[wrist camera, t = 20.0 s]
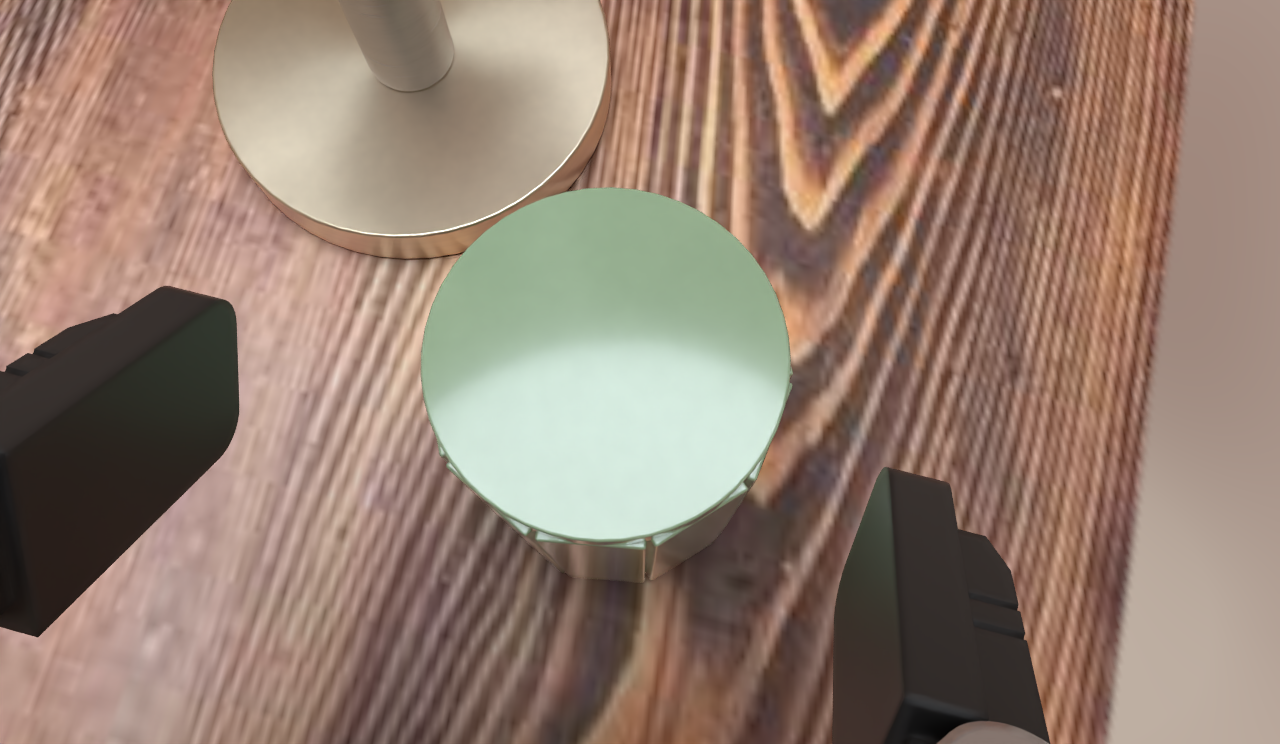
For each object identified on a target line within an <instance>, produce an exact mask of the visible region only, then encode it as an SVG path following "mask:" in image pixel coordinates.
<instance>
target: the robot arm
mask: <svg viewBox="0 0 1280 744" xmlns="http://www.w3.org/2000/svg"><path fill="white" fill-rule="evenodd" d="M238 417H239V384H238V353H237V323H236V315H235V311H234V309H233V307H232V305H231V304H230V303H229V302H228V301H226V300H223V299H219V298H215V297H211V296H207V295H203V294H199V293H195V292H191V291H187V290H183V289H179V288H175V287H171V286H163V287H160V288H158V289H156V290H155V291H153V292H152V293H150V294H149V295H147V296H146V297H144V298H142V299H141V300H139V301H138V302H136V303H135V304H133V305H132V306H130V307H129V308H127V309H126V310H124V311H122V312H121V313H119V314H114V313H113V314H110V315H107V316H104V317H101V318H98V319H94V320H91V321H88V322H85V323H82V324H79V325H75V326H72V327H69V328H67V329H65V330H64V331H62V332H61V333H59V334H57V335H56V336H54V337H53V338H51V339H49V340H48V341H46V342H45V343H43V344H41V345H40V346H38V347H37V348H35V349H34V353H33V354H29V353H27V354H25V355H24V356H22V357H21V358H19V359H17V360H16V361H14V362H13V363H11V364H9V365H8V366H6V371H5V372H2V371H0V627H3V628H6V629H10V630H14V631H17V632H21V633H24V634H28V635H31V636H35V637H39V636H40V635H41V634H42V633H43V632H44V631H45V630H46V629H47V628H48V627H49V626H50V625H51V624H52V623H53V622H54V621H55V620H56V619H57V618H58V617H59V616H60V615H61V614H62V613H63V612H64V611H65V610H66V609H67V608H68V607H69V606H70V605H71V604H72V603H73V602H74V601H75V600H76V599H77V598H78V597H79V596H80V595H81V594H82V593H83V592H84V591H85V590H86V589H87V588H88V587H89V586H91V585H92V584H93V583H94V582H95V581H96V580H97V579H98V578H99V577H100V576H101V575H102V574H103V573H104V572H105V571H106V570H107V569H108V568H109V567H110V566H111V565H112V564H113V563H114V562H115V561H116V560H117V559H118V558H119V557H120V556H121V555H122V554H123V553H124V552H125V551H126V550H127V549H128V548H129V547H130V546H131V545H132V544H133V543H134V542H135V541H136V540H137V539H138V538H139V537H140V536H141V535H142V534H143V533H144V532H145V531H146V530H147V529H148V528H149V527H150V526H151V525H152V524H153V523H154V522H155V521H156V520H157V519H158V518H159V517H161V516H162V515H163V514H164V513H165V512H166V511H167V510H168V509H169V508H170V507H171V506H172V505H173V504H174V503H175V502H176V501H177V500H178V499H179V498H180V497H181V496H182V495H183V494H184V493H185V492H186V491H187V490H188V489H189V488H190V487H191V486H192V485H193V484H194V483H195V482H196V481H197V480H198V479H199V478H200V477H201V476H202V475H203V474H204V473H205V472H206V471H207V470H208V469H209V468H210V467H211V466H212V465H213V464H214V463H215V462H216V461H217V460H218V459H219V458H220V457H221V456H222V455H223V454H224V452H225V451H226V449H227V448H228V446H229V444H230V442H231V440H232V438H233V435H234V433H235V430H236V426H237V422H238ZM1017 608H1018V600H1017V596H1016V591H1015V587H1014V583H1013V578H1012V574H1011V570H1010V569H1009V568H1008V566H1007V565H1006V563H1005V562H1004V561H1003V559H1002V558H1001V557H1000V555H999V554H998V553H997V551H996V550H995V548H994V547H993V546H992V544H991V543H990V542H989V540H988V539H987V537H986V536H982V535H978V534H974V533H971V532H967V531H963V530H959V529H958V528H957V522H956V516H955V510H954V504H953V498H952V492H951V487H950V485H949V483H947V482H944V481H940V480H936V479H932V478H928V477H924V476H920V475H916V474H912V473H908V472H904V471H900V470H896V469H892V468H888V467H884V468H883V469H882V471H881V472H880V474H879V476H878V478H877V480H876V483H875V485H874V488H873V491H872V493H871V496H870V499H869V501H868V504H867V507H866V510H865V512H864V515H863V518H862V521H861V523H860V526H859V529H858V531H857V534H856V537H855V540H854V542H853V545H852V548H851V550H850V553H849V556H848V559H847V561H846V564H845V567H844V570H843V573H842V577H841V580H840V584H839V589H838V594H837V599H836V605H835V613H834V653H833V726H832V744H1050V741H1049V736H1048V732H1047V727H1046V723H1045V719H1044V714H1043V710H1042V705H1041V701H1040V697H1039V692H1038V688H1037V684H1036V679H1035V675H1034V670H1033V666H1032V662H1031V657H1030V653H1029V648H1028V644H1027V641H1026V640H1024V635H1025V631H1024V627H1023V622H1022V618H1021V613H1020V612H1019V611H1017Z"/></svg>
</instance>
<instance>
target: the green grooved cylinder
mask: <svg viewBox="0 0 1280 744" xmlns="http://www.w3.org/2000/svg"><path fill="white" fill-rule="evenodd" d="M792 375H793V371H792V368H791V358H790V346H789V336H788V332H787V327H786V323H785V318H784V314H783V312H782V309H781V306H780V304H779V301H778V298H777V295H776V293H775V291H774V289H773V287H772V285H771V284H770V282H769V280H768V278H767V276H766V274H765V273H764V271H763V270H762V268H761V267H760V266H759V264H758V263H757V261H756V260H755V259H754V257H753V256H752V254H751V253H750V252H749V251H748V250H747V249H746V248H745V247H744V246H743V245H742V244H741V243H740V242H739V240H738V239H737V238H736V237H734V236H733V235H732V234H731V233H730V232H728V231H727V230H726V229H725V228H724V227H722V226H721V225H720V224H719V223H717V222H716V221H714V220H713V219H711V218H709V217H708V216H706V215H705V214H703V213H702V212H700V211H698V210H696V209H694V208H692V207H690V206H688V205H686V204H684V203H681V202H679V201H677V200H674V199H671V198H668V197H665V196H662V195H659V194H655V193H650V192H645V191H640V190H635V189H624V188H612V187H611V188H588V189H581V190H575V191H569V192H564V193H560V194H557V195H553V196H550V197H546V198H543V199H541V200H538V201H536V202H534V203H531V204H529V205H526V206H524V207H522V208H520V209H518V210H517V211H515V212H513V213H511V214H510V215H508V216H506V217H504V218H503V219H501V220H500V221H499V222H497V223H496V224H495V225H493V226H492V227H490V228H489V229H488V230H486V231H485V232H484V233H483V234H482V235H481V236H480V237H479V238H478V239H477V240H476V241H474V242H473V243H472V244H471V245H470V246H469V247H468V248H467V249H466V251H465V252H464V253H463V254H462V256H461V257H460V258H459V259H458V261H457V262H456V263H455V264H454V265H453V267H452V269H451V270H450V272H449V273H448V275H447V277H446V278H445V280H444V281H443V283H442V285H441V287H440V289H439V291H438V293H437V295H436V298H435V300H434V302H433V304H432V306H431V310H430V313H429V316H428V320H427V323H426V326H425V331H424V337H423V343H422V349H421V382H422V391H423V398H424V402H425V406H426V410H427V414H428V418H429V421H430V424H431V426H432V429H433V431H434V433H435V436H436V438H437V444H438V449H439V454H440V456H441V457H442V458H443V459H444V460H445V461H446V462H447V464H446V467H447V468H448V469H449V470H450V471H451V472H452V473H453V474H454V475H455V476H456V477H457V478H458V479H459V480H460V481H461V482H463V483H464V484H465V485H466V486H467V487H468V488H469V489H470V490H471V491H472V492H473V493H474V494H475V495H476V496H477V497H478V498H479V499H480V500H482V501H483V502H484V503H485V504H486V505H487V506H488V507H489V508H490V509H491V510H492V511H493V512H494V513H495V514H496V515H497V516H498V517H499V518H501V519H502V520H503V521H504V522H505V523H506V524H507V525H508V526H509V527H510V528H511V529H512V530H513V531H515V532H516V533H517V534H518V535H519V536H520V537H521V538H523V539H524V540H525V541H526V542H527V543H528V544H529V545H530V546H532V547H533V548H534V549H535V550H536V551H537V552H538V553H539V554H541V555H542V556H543V557H544V558H545V559H546V560H547V561H548V562H550V563H551V564H552V565H553V566H554V567H555V568H556V569H557V570H559V571H560V572H561V573H565V572H566V573H567V574H568V575H569V576H570V577H575V578H587V579H600V580H612V581H624V582H637V583H644V582H645V572H646V574H647V575H648V577H649V579H650V580H651V581H653V580H654V579H656V578H658V577H659V576H661V575H662V574H664V573H666V572H667V571H669V570H670V569H672V568H674V567H675V566H677V565H678V564H680V563H682V562H683V561H685V560H686V559H688V558H690V557H691V556H693V555H694V554H696V553H698V552H699V551H701V550H702V549H704V548H706V547H707V546H709V545H710V544H712V543H713V542H714V541H715V539H716V538H717V536H719V535H720V534H721V532H722V531H723V529H724V528H725V526H726V525H727V523H728V522H729V520H730V519H731V517H732V516H733V514H734V513H735V511H736V510H737V508H738V507H739V505H740V504H741V502H742V501H743V499H744V498H745V496H746V495H747V493H748V492H749V490H750V489H751V487H752V486H753V484H754V483H755V481H756V480H757V477H758V474H759V472H760V469H761V467H762V464H763V462H764V459H765V456H766V454H767V451H768V449H769V446H770V443H771V441H772V439H773V437H774V435H775V433H776V431H777V429H778V426H779V423H780V420H781V418H782V415H783V412H784V409H785V405H786V402H787V399H788V397H789V394H790V391H791V389H792V384H791V383H790V378H791V377H792Z"/></svg>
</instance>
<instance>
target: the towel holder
mask: <svg viewBox="0 0 1280 744" xmlns="http://www.w3.org/2000/svg"><path fill="white" fill-rule="evenodd" d="M212 77H213V94H214V101H215V105H216V110H217V115H218V119H219V122H220V125H221V127H222V130H223V132H224V135H225V138H226V140H227V142H228V144H229V146H230V147H231V149H232V151H233V153H234V154H235V156H236V158H237V160H238V161H239V163H240V164H241V165H242V166H243V168H244V169H245V170H246V171H247V173H248V174H249V175H250V176H251V178H252V179H253V180H254V181H255V183H256V184H257V185H258V186H259V187H260V189H261V190H262V191H263V192H264V194H265V195H266V196H267V197H268V198H269V200H270V201H271V202H272V203H273V204H274V205H275V206H276V207H277V208H278V209H280V210H281V211H282V212H283V213H284V214H285V215H286V216H287V217H288V218H289V219H291V220H292V221H294V222H295V223H297V224H298V225H299V226H301V227H302V228H304V229H305V230H307V231H308V232H310V233H312V234H314V235H316V236H318V237H320V238H322V239H324V240H326V241H328V242H330V243H332V244H335V245H338V246H341V247H344V248H346V249H349V250H352V251H356V252H360V253H365V254H370V255H374V256H379V257H391V258H403V259H410V258H433V257H439V256H445V255H452V254H458V253H461V252H465V251H466V249H467V248H468V247H469V246H470V245H471V244H472V243H473V242H474V241H476V240H477V239H478V238H479V237H480V236H481V235H482V234H483V233H484V232H485V231H486V230H488V229H489V228H490V227H492V226H493V225H495V224H496V223H497V222H499V221H500V220H501V219H503V218H504V217H506V216H508V215H510V214H511V213H513V212H515V211H517V210H518V209H520V208H522V207H524V206H526V205H529V204H531V203H534V202H536V201H538V200H541V199H543V198H546V197H550V196H553V195H557V194H560V193H564V192H566V191H567V190H568V189H569V188H570V187H571V185H572V184H573V183H574V182H575V180H576V179H577V178H578V177H579V175H580V174H581V173H582V171H583V170H584V168H585V166H586V165H587V163H588V161H589V160H590V158H591V156H592V155H593V153H594V151H595V149H596V146H597V144H598V142H599V139H600V137H601V135H602V132H603V130H604V126H605V122H606V118H607V114H608V111H609V105H610V96H611V87H612V85H611V60H610V41H609V33H608V28H607V23H606V17H605V14H604V11H603V8H602V5H601V2H600V0H232V1H231V3H230V4H229V6H228V8H227V11H226V13H225V16H224V19H223V21H222V24H221V26H220V29H219V33H218V37H217V42H216V46H215V50H214V60H213V71H212Z"/></svg>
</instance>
